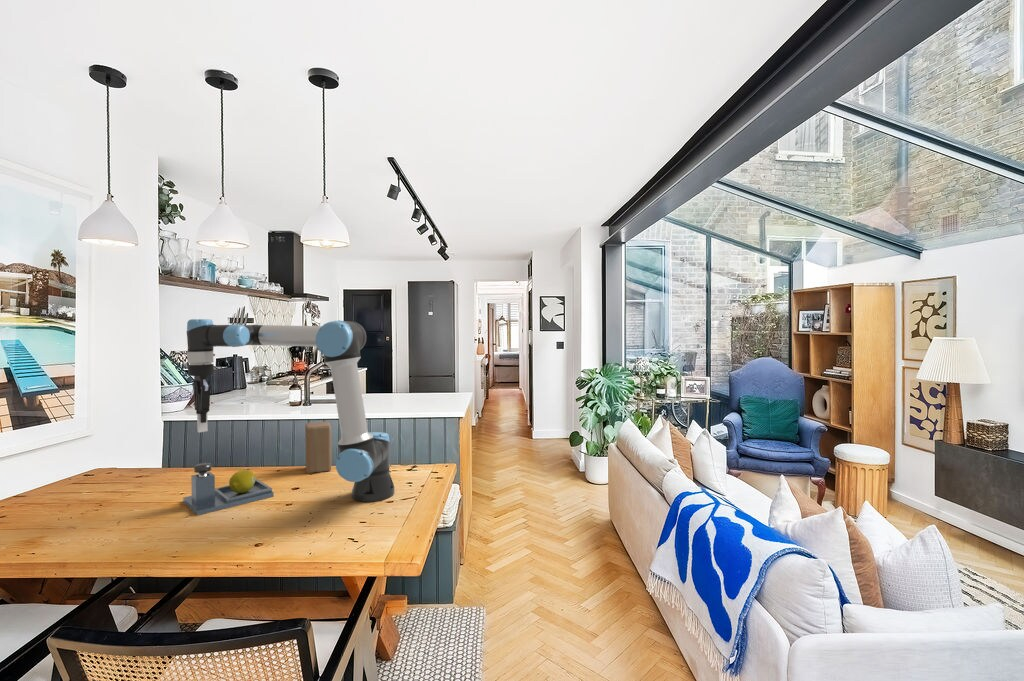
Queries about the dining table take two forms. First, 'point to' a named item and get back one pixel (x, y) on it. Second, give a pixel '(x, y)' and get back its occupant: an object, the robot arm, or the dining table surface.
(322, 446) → the wooden block
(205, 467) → the ball
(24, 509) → the dining table surface
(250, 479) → the lemon
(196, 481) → the base
